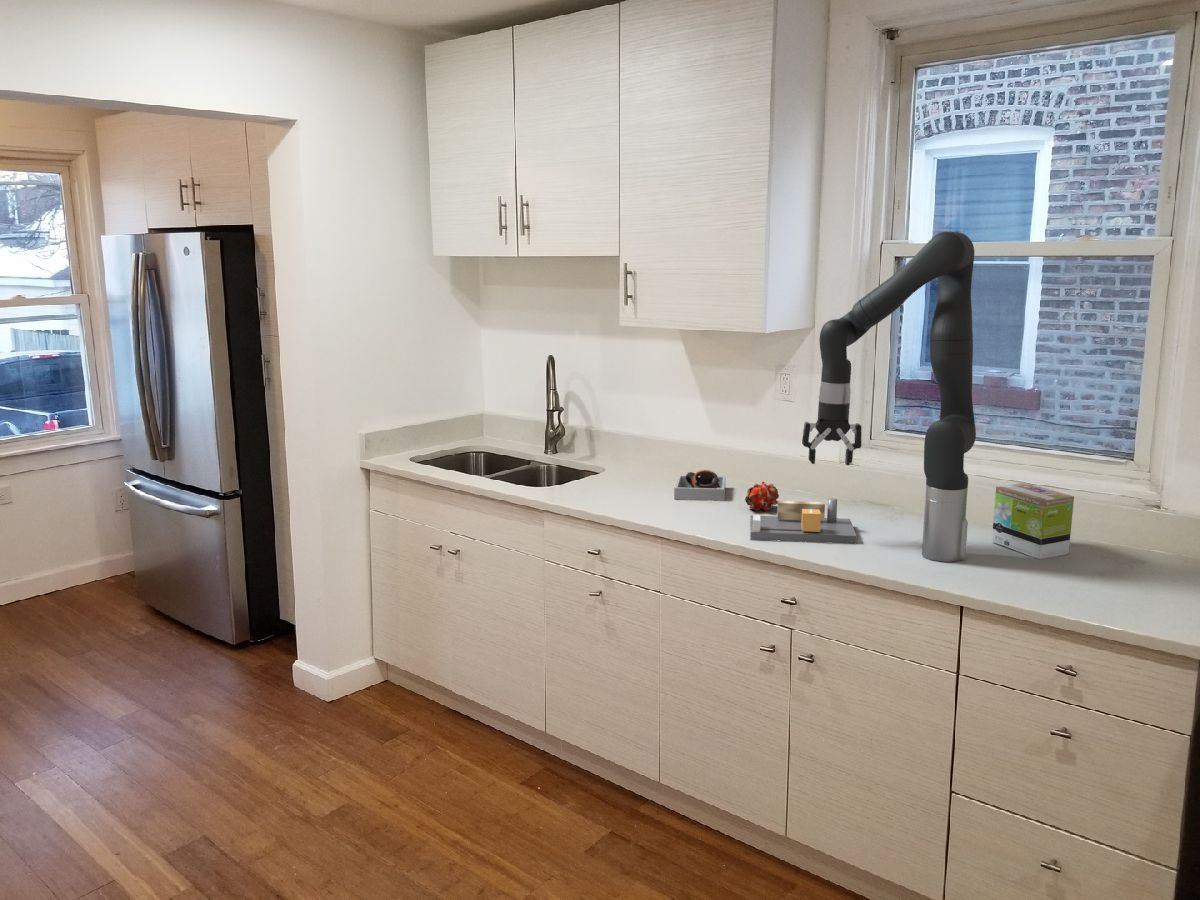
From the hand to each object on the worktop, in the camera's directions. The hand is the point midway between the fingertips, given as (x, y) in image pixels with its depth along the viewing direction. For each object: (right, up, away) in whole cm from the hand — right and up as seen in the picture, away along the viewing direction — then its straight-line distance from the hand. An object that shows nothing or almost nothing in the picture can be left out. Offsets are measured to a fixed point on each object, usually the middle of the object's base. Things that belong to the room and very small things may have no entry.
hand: (830, 463), depth 237 cm
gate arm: (-5, -15, +11) cm, 19 cm away
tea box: (+47, -21, -7) cm, 52 cm away
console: (-6, -18, +7) cm, 20 cm away
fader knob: (-4, -16, +2) cm, 17 cm away
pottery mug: (-27, -10, +50) cm, 57 cm away
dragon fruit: (-12, -14, +30) cm, 35 cm away
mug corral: (-27, -10, +50) cm, 57 cm away
